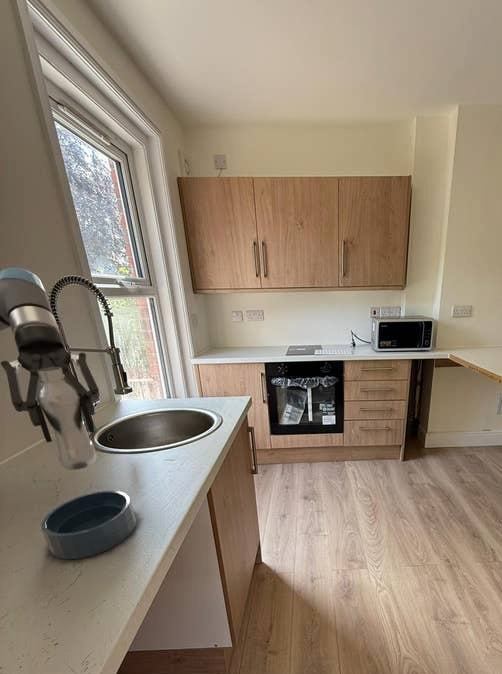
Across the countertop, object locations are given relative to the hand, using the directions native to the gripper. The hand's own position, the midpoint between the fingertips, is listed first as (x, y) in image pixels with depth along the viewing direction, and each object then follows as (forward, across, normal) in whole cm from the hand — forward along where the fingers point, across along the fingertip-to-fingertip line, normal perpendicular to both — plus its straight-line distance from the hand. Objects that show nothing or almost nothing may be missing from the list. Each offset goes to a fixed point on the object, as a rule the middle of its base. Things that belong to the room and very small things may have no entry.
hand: (70, 433), depth 65 cm
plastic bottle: (+4, 0, -9) cm, 9 cm away
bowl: (+18, +1, -11) cm, 21 cm away
